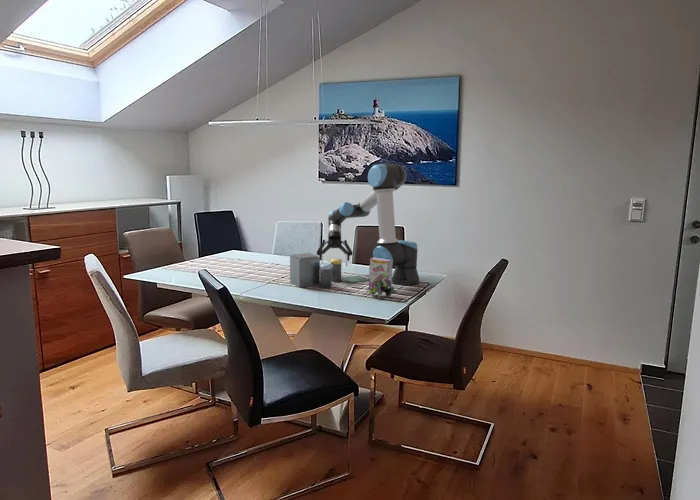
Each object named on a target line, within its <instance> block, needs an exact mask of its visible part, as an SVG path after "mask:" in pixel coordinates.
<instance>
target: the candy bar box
mask: <svg viewBox="0 0 700 500" xmlns="http://www.w3.org/2000/svg"><path fill="white" fill-rule="evenodd" d="M392 263H393V260H388V259H381V258H374V257H371V258H369V275H368V279H369V281H368V288H369V287H370V288H374V286H375V282H374V280H376V281H379V280H380V279H382V280H384V279H388V280H389V281H390V282H391V283H390V284H393V282H392V276H393V266H392ZM384 281H385V280H384ZM391 286H392V287H393V285H391ZM376 288H377V287H376ZM379 290H380V291H381V288H380V289H379ZM381 292H382V291H381Z"/></svg>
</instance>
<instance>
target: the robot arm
mask: <svg viewBox="0 0 700 500" xmlns="http://www.w3.org/2000/svg"><path fill="white" fill-rule="evenodd" d="M406 180H407V172H406V170H405V168H404V166H402V165H401V164H397V163H379V164H374V165H372V167H370V169H369V170H368V174H367V182H368V184H369V185H370V187H372V191H371V192H370V193H369V194H367V195H366V196H365V197H364V198H363V199H362V200H360V202H358V203H356V204H352V203H350V202H348V201H346V202H343V203H342V204H341V205H339V207H338V208H337V209H333V210H331V211H330V212H329V213H328V225H327V226H328V229H327V230H328V232H327V233H328V234H327V240H325V239H322V243H321V244H320V246H319V247H318V249H317V250H316V256H319V257H320V261H321V264H324V255H325V254H326V253H327V252H328V251H329V250H330V249H339V250H340V251H342V253H344V255H345V267H348V262H349V261H350V256H353V251H352V249H351V248H350V246H349V244H348V241H347V239H344V240H342V224H343V222H345V221H346V220H347V219H350V218H351V219H354V218H364V217H365V218H366V217H368V216H369V215H370V213H371V211H372V209H373V208H375V206H377V207H376V208H377V219H378V220H377V221H378V222H377V223H378V237H379V238H378V240H377V242H376V247H375V248H374V249H373V251H372V256H373V257H372V258H381V259H388V260H393V263H392V267H395V268H394V271H393V273H392V284H396V285H400V286H401V285H402V286H414V285H415V284H416V285H418V284H420V276H419V273H418V272H419V271H418V270H417V269H418V268H417V266H418V264H417V263H418V243H416V242H415V241H410V240H401V239H400V240H399V239H398V238H397V237H396V223H395V209H394V208H395V207H394V194H393V193H394V191H397V190H399V188H401V187H402V186H403V184H405V182H406ZM326 244H327V245H326ZM342 244H343V245H342ZM325 245H326V247H325Z"/></svg>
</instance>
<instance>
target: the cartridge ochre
mask: <svg viewBox="0 0 700 500" xmlns="http://www.w3.org/2000/svg"><path fill="white" fill-rule="evenodd" d="M342 260H343V259H341V258H330V263H329V264H332V277H331V283H341V282H342V279H341V277H342V265H343V263H342V262H343V261H342Z"/></svg>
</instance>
